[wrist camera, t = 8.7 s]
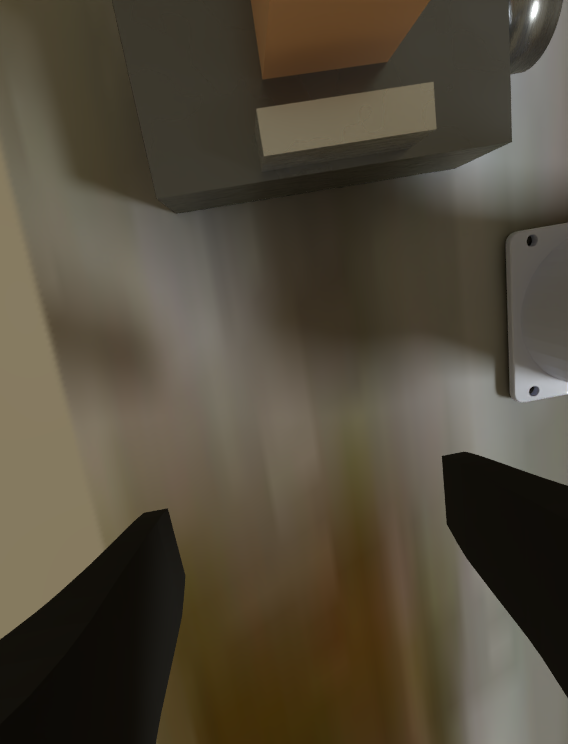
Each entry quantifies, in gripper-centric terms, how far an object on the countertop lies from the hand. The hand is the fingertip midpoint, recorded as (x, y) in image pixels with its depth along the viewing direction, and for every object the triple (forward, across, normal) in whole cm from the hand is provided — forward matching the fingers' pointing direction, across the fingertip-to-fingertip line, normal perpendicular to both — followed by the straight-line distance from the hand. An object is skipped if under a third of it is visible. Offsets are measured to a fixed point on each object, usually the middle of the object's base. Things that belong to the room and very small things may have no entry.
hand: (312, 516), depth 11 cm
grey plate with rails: (+9, -3, -14) cm, 17 cm away
